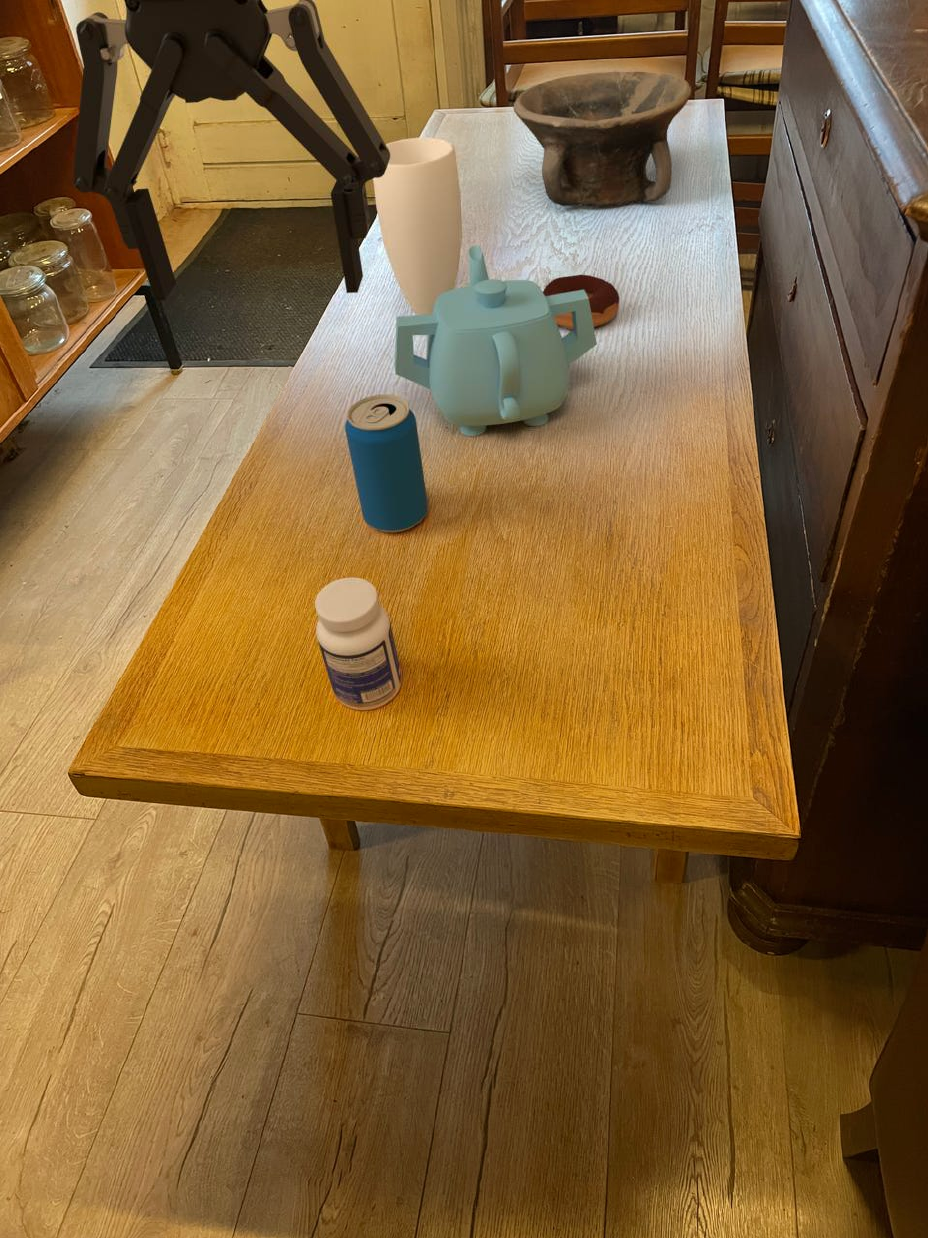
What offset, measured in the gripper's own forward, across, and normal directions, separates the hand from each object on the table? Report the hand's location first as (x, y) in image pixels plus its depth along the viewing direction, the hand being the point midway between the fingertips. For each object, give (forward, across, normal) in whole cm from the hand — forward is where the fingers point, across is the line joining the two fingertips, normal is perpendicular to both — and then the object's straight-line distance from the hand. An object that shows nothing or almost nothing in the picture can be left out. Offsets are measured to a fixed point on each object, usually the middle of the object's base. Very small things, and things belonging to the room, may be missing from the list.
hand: (259, 288), depth 62 cm
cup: (+28, -6, -49) cm, 56 cm away
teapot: (+28, -14, -30) cm, 44 cm away
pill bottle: (+28, -5, +12) cm, 31 cm away
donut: (+27, -25, -50) cm, 62 cm away
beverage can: (+28, -5, -10) cm, 30 cm away
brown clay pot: (+27, -29, -92) cm, 100 cm away
